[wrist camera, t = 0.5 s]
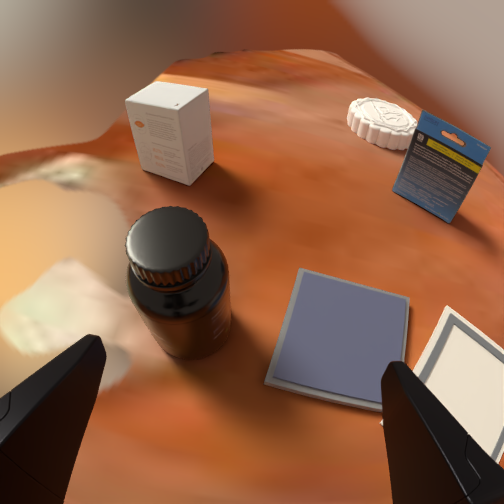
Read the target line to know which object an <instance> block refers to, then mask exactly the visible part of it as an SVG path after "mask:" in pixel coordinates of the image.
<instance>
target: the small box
mask: <svg viewBox="0 0 504 504" xmlns="http://www.w3.org/2000/svg"><path fill="white" fill-rule="evenodd" d="M125 103H126V108H127V112H128V116H129V121H130V125H131V129H132V133H133V137H134V141H135V145H136V149H137V153H138V156H139V160H140V164H141V168H142V169H143V170H146V171H149V172H151V173H154V174H157V175H160V176H163V177H166V178H169V179H171V180H174V181H177V182H180V183H183V184H186V185H189V186H190V185H191V184H192V183H193V182H194V181H195V180H196V179H197V178H198V177H199V176H200V175H201V174H202V173H203V172H204V170H205V169H206V168H207V167H208V166H209V165H210V164H211V163H212V162H213V161H214V154H213V142H212V130H211V118H210V105H209V93H208V89H205V88H199V87H193V86H187V85H180V84H173V83H166V82H158V81H156V82H154V83H152V84H150V85H149V86H147V87H145V88H144V89H142V90H140V91H139V92H137V93H136V94H134V95H133V96H131V97H130V98H128V99H126V100H125Z"/></svg>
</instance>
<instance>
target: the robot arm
mask: <svg viewBox="0 0 504 504" xmlns="http://www.w3.org/2000/svg"><path fill="white" fill-rule="evenodd" d="M105 362H106V351H105V348H104V346H103V343H102V340H101V338H100V337H99V336H97V335H92V334H88V335H86V336H84V337H83V338H82V339H80V340H79V341H77V342H76V343H75V344H73V345H72V346H70V347H69V348H68V349H66V350H65V351H63V352H62V353H61V354H59V355H58V356H57V357H55V358H54V359H53V360H51V361H50V362H48V363H47V364H46V365H44V366H43V367H42V368H40V369H39V370H37V371H36V372H35V373H34V374H32V375H31V376H29V377H28V378H27V379H25V380H24V381H23V382H21V383H20V384H19V385H17V386H16V387H15V388H13V389H12V390H11V391H9V392H8V393H7V394H5V395H4V396H3V397H1V398H0V504H63V503H64V499H65V495H66V491H67V488H68V484H69V481H70V477H71V474H72V471H73V467H74V464H75V461H76V457H77V454H78V451H79V448H80V445H81V442H82V439H83V436H84V433H85V430H86V427H87V424H88V421H89V418H90V415H91V412H92V410H93V407H94V404H95V401H96V398H97V394H98V390H99V386H100V382H101V378H102V374H103V370H104V366H105ZM381 397H382V416H383V429H384V436H385V442H386V449H387V457H388V464H389V472H390V481H391V490H392V500H393V504H504V469H503V468H502V467H501V466H500V465H499V464H498V463H497V462H495V461H494V460H493V459H492V458H491V457H490V456H489V455H488V454H487V453H486V452H485V451H484V450H483V449H482V448H481V446H480V445H479V444H478V443H477V442H476V441H475V440H474V439H473V438H472V436H471V435H470V434H468V432H467V431H466V430H465V429H464V428H463V426H462V425H461V424H460V423H459V422H458V421H457V420H456V418H455V417H454V416H453V415H452V414H451V413H450V412H449V411H448V410H447V408H446V407H445V406H444V405H443V404H442V403H441V402H440V401H439V400H438V398H437V397H436V396H435V395H434V394H433V393H432V392H431V391H430V390H429V389H428V388H427V386H426V385H425V384H424V383H423V382H422V381H421V380H420V379H419V378H418V377H417V376H416V374H415V373H414V372H413V371H412V370H411V369H410V368H409V367H408V366H407V365H406V364H405V363H404V362H403V361H391V362H390V363H389V364H388V366H387V368H386V370H385V372H384V374H383V376H382V378H381Z"/></svg>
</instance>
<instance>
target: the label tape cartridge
mask: <svg viewBox="0 0 504 504" xmlns="http://www.w3.org/2000/svg"><path fill="white" fill-rule="evenodd" d="M442 131H446V132H447V133H449V134H452V133H455V134H456V135H457V138H458V139H460V140H462V141H463V142H464V145H463V146H462V145H460V144H458V143H456V142H454V141H453V140H451V139H449V138H447V137H445V136H443V135H442V133H441V132H442ZM490 149H491V147H490V146H488V145H486V144H484V143H483V142H481V141H479V140H478V139H476V138H474V137H472V136H471V135H469V134H467V133H466V132H464V131H462V130H461V129H459V128H457V127H455V126H453V125H452V124H450V123H448V122H446V121H444V120H442V119H440V118H438V117H436V116H434V115H432V114H430V113H429V112H427V111H425V110H422V112H421V115H420V118H419V121H418V124H417V127H416V128H415V130H414V133H413V136H412V139H411V142H410V145H409V147H408V150H407V153H406V155H405V158H404V161H403V163H402V166H401V169H400V171H399V174H398V176H397V179H396V181H395V183H394V186H393V189H392V191H393V192H395V193H397V194H399V195H401V196H403V197H404V198H406V199H408V200H410V201H412V202H414V203H416V204H417V205H419V206H421V207H423V208H424V209H426V210H428V211H429V212H431V213H433V214H434V215H436V216H438V217H439V218H441V219H443V220H444V221H446V222H447V223H450V222H451V221H452V219H453V218H454V216H455V214H456V213H457V211H458V209H459V208H460V206H461V204H462V203H463V201H464V199H465V197H466V195H467V194H468V192H469V190H470V188H471V187H472V185H473V183H474V181H475V179H476V178H477V176H478V174H479V172H480V170H481V168H482V166H483V162H484V160H485V158H486V157H487V155H488V153H489V151H490Z"/></svg>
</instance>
